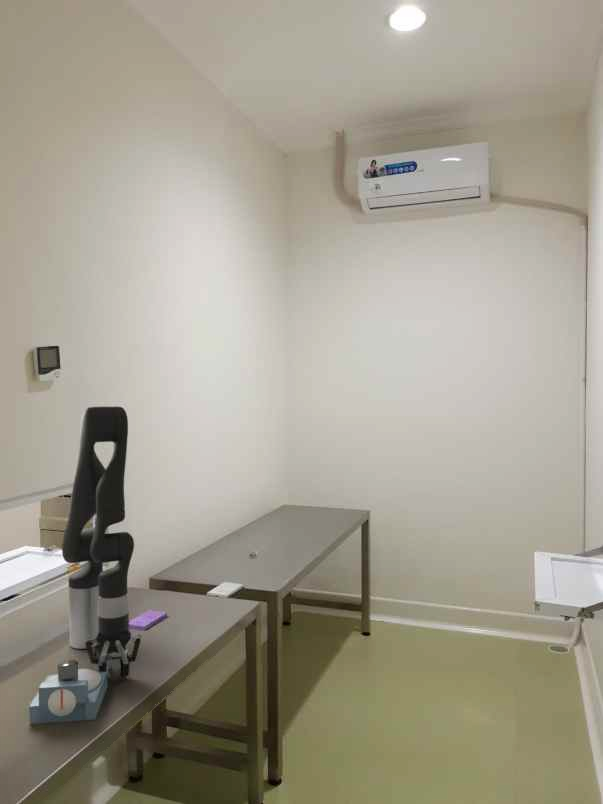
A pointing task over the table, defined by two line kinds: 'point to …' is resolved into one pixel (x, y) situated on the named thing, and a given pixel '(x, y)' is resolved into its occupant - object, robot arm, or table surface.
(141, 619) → the sponges
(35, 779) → the table surface
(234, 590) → the external hard drive
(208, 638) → the table surface
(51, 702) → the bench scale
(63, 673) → the cylinder
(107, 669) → the cylinder
